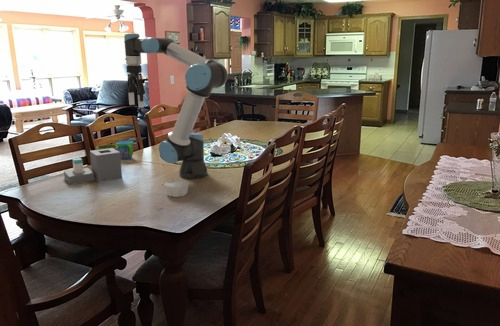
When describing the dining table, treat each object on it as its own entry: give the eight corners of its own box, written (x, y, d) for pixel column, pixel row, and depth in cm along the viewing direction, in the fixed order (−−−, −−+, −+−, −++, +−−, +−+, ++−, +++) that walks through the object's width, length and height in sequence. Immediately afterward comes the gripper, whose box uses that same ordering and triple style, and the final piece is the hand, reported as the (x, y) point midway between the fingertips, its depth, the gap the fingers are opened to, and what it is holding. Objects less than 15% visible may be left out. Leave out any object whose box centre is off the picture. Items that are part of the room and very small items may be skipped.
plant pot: (97, 168, 231) (95, 149, 228) (98, 163, 242) (97, 144, 239) (118, 167, 234) (117, 148, 231) (119, 162, 245) (118, 143, 242)
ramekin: (178, 188, 198) (177, 178, 197) (194, 193, 192) (193, 182, 190) (160, 194, 190) (159, 183, 189) (175, 199, 183) (175, 188, 182)
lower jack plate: (94, 180, 210) (93, 172, 209) (70, 184, 203) (69, 176, 202) (88, 174, 219) (87, 167, 218) (64, 178, 212) (63, 171, 211)
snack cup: (112, 156, 257) (111, 141, 254) (128, 154, 263) (127, 139, 261) (122, 161, 245) (121, 145, 242) (138, 159, 252) (137, 143, 249)
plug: (84, 179, 211) (82, 159, 208) (76, 181, 208) (74, 160, 205) (82, 177, 214) (80, 157, 211) (74, 179, 211) (72, 158, 209)
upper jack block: (122, 177, 214) (119, 152, 210) (98, 181, 207) (96, 155, 203) (114, 172, 223) (112, 147, 220) (92, 176, 217) (89, 150, 213)
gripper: (118, 64, 216) (121, 104, 222) (135, 65, 197) (138, 109, 202) (132, 64, 220) (134, 103, 226) (150, 65, 201) (152, 108, 207)
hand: (136, 106), depth 214 cm, fingers open, 13 cm apart
